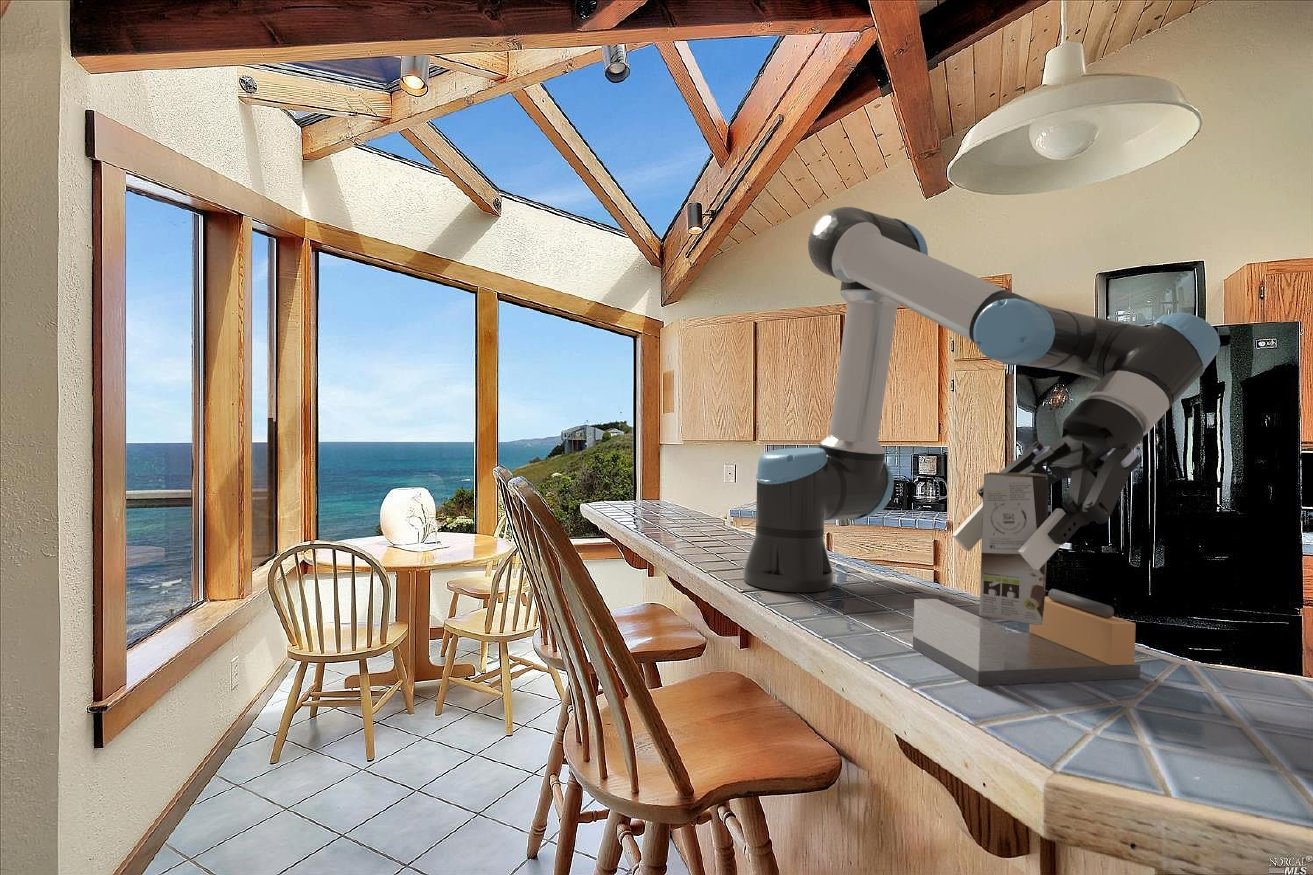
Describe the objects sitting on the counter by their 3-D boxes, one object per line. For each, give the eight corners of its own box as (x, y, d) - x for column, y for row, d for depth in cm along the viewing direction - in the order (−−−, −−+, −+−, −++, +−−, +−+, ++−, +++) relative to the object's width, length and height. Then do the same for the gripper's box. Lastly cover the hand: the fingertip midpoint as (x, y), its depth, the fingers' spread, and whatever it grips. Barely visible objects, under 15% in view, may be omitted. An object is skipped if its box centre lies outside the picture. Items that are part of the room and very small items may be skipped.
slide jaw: (1029, 632, 84) (1030, 585, 84) (1049, 631, 84) (1051, 584, 84) (1110, 665, 72) (1112, 610, 72) (1134, 664, 72) (1136, 610, 72)
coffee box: (1044, 626, 70) (1048, 475, 70) (977, 616, 74) (981, 472, 74) (1045, 608, 78) (1049, 472, 78) (985, 600, 81) (988, 469, 81)
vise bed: (912, 648, 81) (914, 599, 81) (1054, 643, 84) (1056, 596, 84) (978, 685, 69) (980, 628, 69) (1139, 678, 73) (1141, 623, 73)
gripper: (1231, 443, 67) (1095, 599, 65) (1055, 440, 90) (949, 555, 87) (1189, 389, 66) (1050, 545, 64) (1022, 400, 89) (913, 515, 86)
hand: (991, 551), depth 75 cm, fingers closed on coffee box, 10 cm apart
